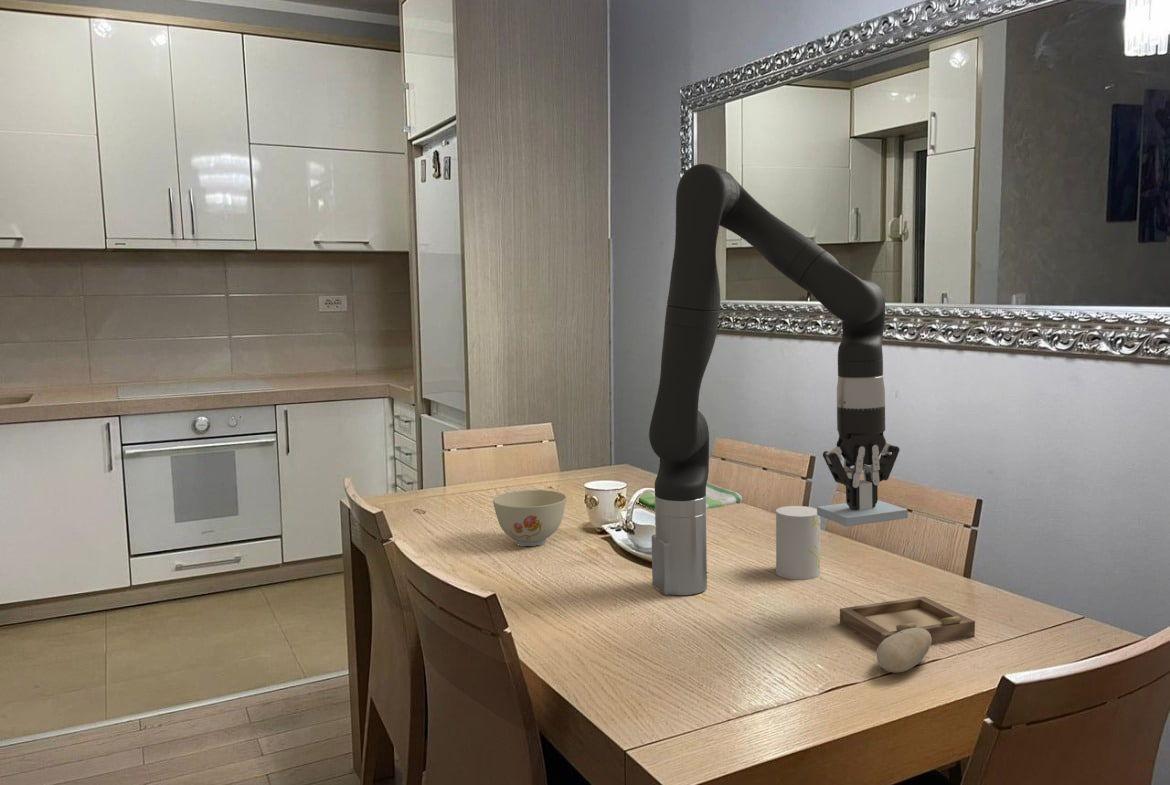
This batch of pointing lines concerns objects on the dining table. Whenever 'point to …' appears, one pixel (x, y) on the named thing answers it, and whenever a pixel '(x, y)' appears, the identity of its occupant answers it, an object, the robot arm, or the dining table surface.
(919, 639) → the stone
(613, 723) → the dining table surface
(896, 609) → the cabinet frame
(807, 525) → the grey upright cylinder
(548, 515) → the bowl
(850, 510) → the panel with block handle
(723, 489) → the dish towel
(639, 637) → the dining table surface
